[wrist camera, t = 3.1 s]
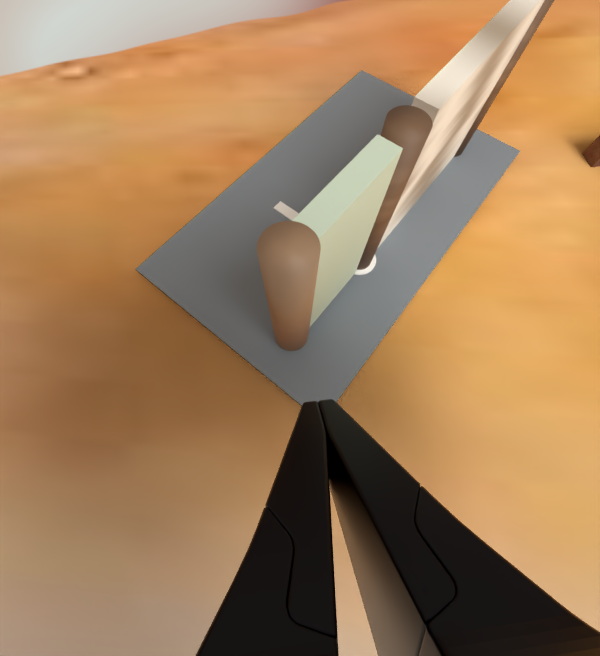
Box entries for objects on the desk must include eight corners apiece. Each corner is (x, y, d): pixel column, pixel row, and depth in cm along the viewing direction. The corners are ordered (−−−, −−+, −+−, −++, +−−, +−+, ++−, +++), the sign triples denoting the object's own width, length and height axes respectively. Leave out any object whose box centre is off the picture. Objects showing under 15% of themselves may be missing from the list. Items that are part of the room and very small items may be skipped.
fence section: (361, 275, 18) (417, 145, 10) (339, 261, 18) (376, 123, 10) (466, 147, 21) (570, -24, 13) (447, 137, 22) (537, -36, 14)
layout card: (321, 422, 15) (322, 421, 15) (138, 271, 18) (134, 268, 17) (517, 154, 22) (521, 149, 21) (360, 74, 24) (361, 68, 24)
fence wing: (335, 259, 17) (367, 128, 10) (360, 276, 17) (413, 154, 9) (267, 337, 16) (243, 251, 8) (293, 358, 15) (293, 287, 8)
